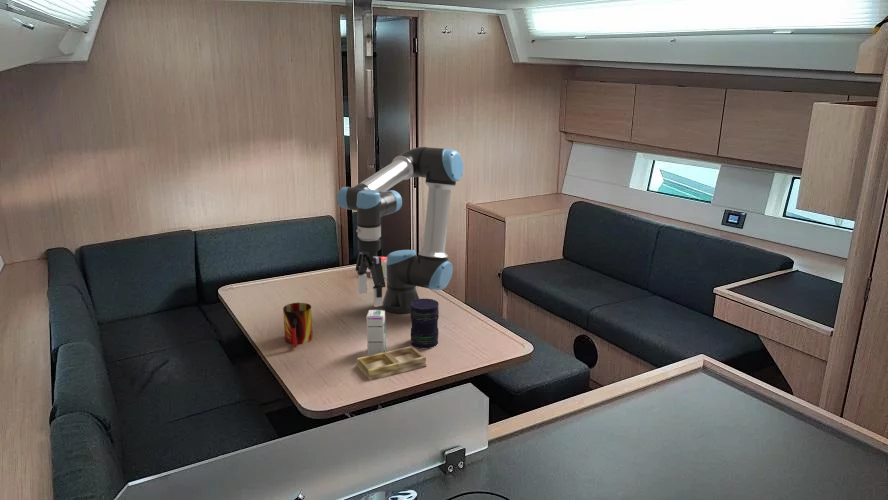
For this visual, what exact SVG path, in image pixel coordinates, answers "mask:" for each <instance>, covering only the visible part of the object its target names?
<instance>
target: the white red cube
mask: <svg viewBox="0 0 888 500" xmlns="http://www.w3.org/2000/svg"><path fill="white" fill-rule="evenodd" d="M377 257H381V265H382V270H383V275H384V279H387V265H386V263H387V256H382V255H381V256H378V255H377ZM369 271H370V270H369ZM369 274H370V278H372V275H371V271H370V272H369Z"/></svg>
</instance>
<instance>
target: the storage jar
mask: <svg viewBox="0 0 888 500" xmlns="http://www.w3.org/2000/svg"><path fill="white" fill-rule="evenodd" d="M439 303H440V302H438V301H437V300H435V299H432V298H419V299H417V300H414V301H412V302H411V312H410V319H411V327H410V340H411V341H410V345H411V344H412V345H413V347H414V348H416V347H418V348H417V349H421V348H428V349H431V348H430V347H433V348H435V347H437V346H438V345H439V325H438V322H439V321H438V320H439V316H440V315H439V314H440V313H439ZM437 344H438V345H437ZM412 345H411V346H412ZM436 345H437V346H436ZM434 346H435V347H434Z"/></svg>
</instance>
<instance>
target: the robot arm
mask: <svg viewBox="0 0 888 500" xmlns="http://www.w3.org/2000/svg"><path fill="white" fill-rule="evenodd" d="M463 173H464V161H463V158H462V155H461V154H460V153H459V152H458V151H457V150H455V149H450V148H441V147H440V148H439V147H426V146H420V147H414V148H411V149H409V150H406V151H404V152H402V153H400V154H398V155H397V156H395V157H394V158H393V159H392V161H391V162H390V163H389V164H387V165H386V166H385V167H383V168H381V169H380V170H378V171H377V172H374V174H372V175H371V176H369V177H367V178H366V179H364V180H363V181H360V183H358V184H357V185H354V186H353V187H350V186H342V187H341V188H340V189H339V190H338V193H337V196H336V200H337V203H338V204H337V205H338V206H339V207H340V208H342V209H346V210H348V211H350V210H351V211H356V213H357V218H356V219H357V223H356V224H357V225H356V226H357V229H356V231H355V232H356V233H357V238H358V239H357V250H358V255H357V258H356V259H357V260H356V265H355V271H356V273H357V275H358V276H357V278H358V295H362V294H367V293H368V284H367V281H368V276H367V274H368V271H367V270H369V271H371V275H372V277H371V278H372V281H373V285H374V286H372V289H373V307H375V308H377V307H381V306H382V308H383V310H385V312H386V311H387V312H389V313H394V314H409V313H411V302H412V301H414V300H417V299H420V297H419V294H418V291H417V287H420V288H424V289H429V290H433V291H434V290H435V291H441V290H444V289H445V288H446V287H447V286H448V285H449V283H450V281H451V279H452V276H453V272H454V271H453V270H454V268H453V264H452V262H450V261H449V255H448V254H447V252H446V243H447V241H446V240H447V233H448V223H449V213H450V204H451V203H450V202H451V194H452V189H454V187H456V185H457V182H458V181H460V180H461V179H462V176H463ZM411 178H425V182H424V183H425V184H426V186H427V187H428V193H427V202H426V210H425V211H426V212H425V213H426V214H425V222H424V232H423V233H424V234H423V244H422V245H423V246H422V250H421V249H420V251H419V252H418V253H417V252H416V251H415V250H414V249H401V250H400V249H399V250H395V251H392V252H390V253H388V254H387V256H386V257H387V263H386V265H387V278H386V281H385V278H384V275H383V270H382V265H381V257H377V256H378V255H377V254H378V253H377V252H379V251H380V250H381V249H382V239H381V237H382V224H381V219H382V217H385V216H387V215H390V214H391V215H392V214H395V213H396V212H397V211H399V210H400V209H401V208H402V206H403V198H402V196H401V194H400V193H399V192H398V191H396V190H394V189H393V190H390V189H391V188H393V187H394V186H396V185H397V184H399V183H401V182H402V181H405V180H406V181H407V180H410V179H411ZM417 254H418V256H417ZM383 288H386V291H385V293H384V295H383ZM383 296H384V297H383Z"/></svg>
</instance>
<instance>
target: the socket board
mask: <svg viewBox="0 0 888 500" xmlns="http://www.w3.org/2000/svg"><path fill="white" fill-rule="evenodd" d="M356 361H357V362H356V367H357V368H358V369H359V370H360V371H361V373H363V374H364V376H365V377H367V378H368V380H369V381H373V380H376V379H377V380H378V379H381V378H384V377H385V378H386V377H389V376H393V375H397V374H402V373H404V372H405V373H406V372H410V371H412V369H414V370H417V369H416V368H418V369H421V368H420V367H422V368H424V367H423V366H426V367H427V357H426V356H425V355H424V354H422V353H421V352H420V351H419V350H417V348H416V347H414V346H412V345H410V346H405V347H401V348H397V349H393V350H388V351H385V352H383V353H378V354H374V355H365V356H361V357H357V358H356ZM409 370H410V371H409Z"/></svg>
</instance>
